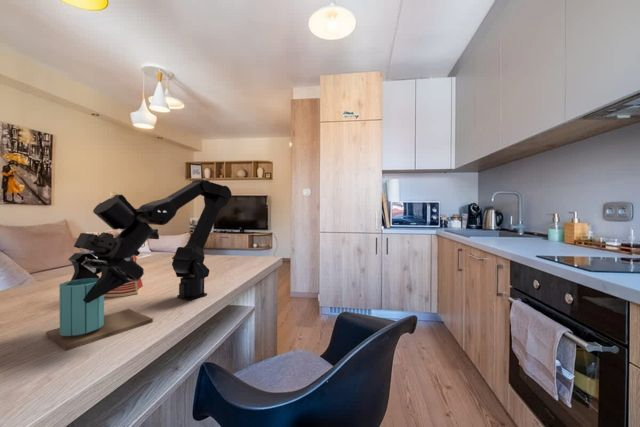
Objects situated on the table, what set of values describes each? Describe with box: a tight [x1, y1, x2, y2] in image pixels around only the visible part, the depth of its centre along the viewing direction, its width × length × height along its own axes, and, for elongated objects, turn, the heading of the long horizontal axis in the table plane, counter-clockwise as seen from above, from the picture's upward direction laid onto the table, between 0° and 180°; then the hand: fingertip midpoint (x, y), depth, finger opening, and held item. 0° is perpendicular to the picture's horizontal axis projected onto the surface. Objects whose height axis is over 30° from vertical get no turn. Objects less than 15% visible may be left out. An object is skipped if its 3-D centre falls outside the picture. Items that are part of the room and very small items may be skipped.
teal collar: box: [58, 277, 105, 336], centre depth 58 cm, size 7×7×10 cm
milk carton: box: [104, 255, 144, 298], centre depth 88 cm, size 9×9×20 cm
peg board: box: [45, 308, 154, 351], centre depth 62 cm, size 16×12×5 cm
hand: (74, 299), depth 57 cm, fingers closed on teal collar, 7 cm apart
